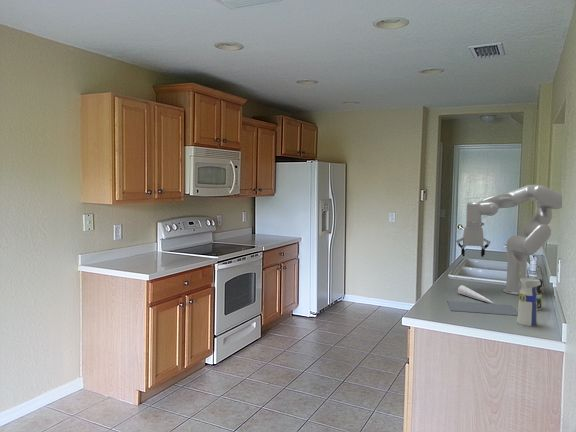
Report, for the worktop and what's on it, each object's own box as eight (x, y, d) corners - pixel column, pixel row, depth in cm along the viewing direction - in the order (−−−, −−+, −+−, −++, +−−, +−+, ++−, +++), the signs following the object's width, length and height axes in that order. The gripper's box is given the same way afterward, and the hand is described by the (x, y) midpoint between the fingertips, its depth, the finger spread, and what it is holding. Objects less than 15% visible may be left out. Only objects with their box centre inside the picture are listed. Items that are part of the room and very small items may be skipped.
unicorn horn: (487, 304, 227) (487, 295, 227) (456, 294, 250) (457, 285, 250) (495, 304, 229) (495, 294, 228) (464, 293, 251) (464, 284, 251)
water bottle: (528, 327, 194) (531, 268, 192) (511, 321, 202) (514, 265, 200) (542, 325, 197) (545, 267, 195) (525, 319, 205) (528, 263, 203)
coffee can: (539, 306, 227) (541, 278, 226) (542, 311, 218) (544, 282, 217) (516, 303, 231) (518, 276, 230) (518, 309, 222) (520, 280, 221)
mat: (511, 305, 227) (511, 305, 227) (520, 316, 210) (520, 315, 210) (447, 301, 234) (447, 300, 234) (451, 310, 217) (451, 310, 217)
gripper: (489, 224, 251) (488, 255, 252) (456, 224, 255) (455, 254, 256) (492, 225, 243) (491, 257, 245) (457, 225, 247) (456, 256, 249)
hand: (472, 256), depth 250 cm, fingers open, 9 cm apart
